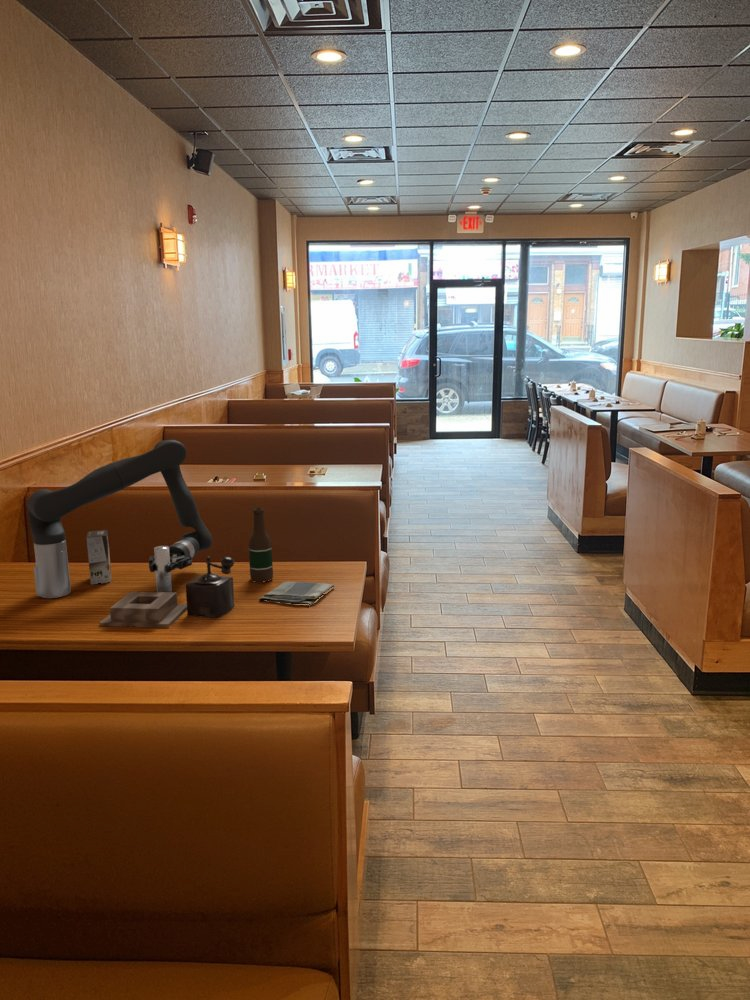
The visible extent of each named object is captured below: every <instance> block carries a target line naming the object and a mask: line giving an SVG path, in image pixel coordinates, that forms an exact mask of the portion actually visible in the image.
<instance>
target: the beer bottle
mask: <svg viewBox="0 0 750 1000" xmlns="http://www.w3.org/2000/svg"><path fill="white" fill-rule="evenodd" d="M252 513H253V531H252V533H251V535H250V537H249V540H248V556H249V557H248V558H249V561H248V562H249V574H250V575H249V576H250V581H251V582H252V581H256V582H263V581H268V580H270V579H272V578H273V579H274V569H273V567H274V566H273V565H274V564H273V548H272V542H271V539H270V536H269V534H267V530H266V527H265V526H266V525H265V524H266V523H265V517H264V513H265V510H264V508H262V507H255V508H253V509H252ZM256 582H255V583H256Z"/></svg>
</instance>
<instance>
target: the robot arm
mask: <svg viewBox="0 0 750 1000" xmlns="http://www.w3.org/2000/svg"><path fill="white" fill-rule="evenodd" d="M187 453H188V452H187V448H186V446H185V445H184V444H183V443H182V442H180V441H178V440H175V439H166V440H165V439H164V440H159V441H158V442H157V443H156V444H155V445H154V447H153V448H152V449H151V450H149V451H146V452H144V453H142V454H138V455H136V456H131V457H126V458H123V459H119V460H116V461H113V462H110V463H107V464H105V465H102V466H100V467H98V468H96V469H94V470H92V471H91V472H89V473H88V474H86V475H85V476H84V477H82V478H81V479H80V480H78V481H77V482H74V483H73V484H71V485H69V486H66V487H63V488H60V489H55V490H50V489H46V488H41V489H37V490H35V491H34V492H32V493H31V494H30V496H29V498H28V501H27V513H28V521H29V527H30V528H29V529H30V533H31V535H32V538H33V539H32V540H33V548H34V549H33V550H34V556H35V557H34V559H35V566H33V575H34V584H35V593H36V597H40V598H43V599H57V598H61V597H65V596H68V595H69V594H71V592H72V589H71V587H72V585H71V578H70V567H69V560H68V559H69V558H68V551H67V549H68V548H67V541H66V539H67V538H66V531H65V529H64V527H63V523H62V518H63V517H64V516H66V515H68V514H70V513H71V512H73V511H75V510H77V509H78V508H80V507H82V506H85V505H86V504H91V503H93V502H96V501H98V500H100V499H103V498H105V497H108V496H111V495H113V494H115V493H117V492H120V491H122V490H125V489H126V488H129V487H131V486H133V485H135V484H137V483H138V482H141V481H143V480H144V479H146V478H148V477H150V476H152V475H154V474H157V473H161V475H162V478H163V480H164V482H165V484H166V486H167V489H168V491H169V493H170V496H171V497H170V498H171V500H172V503H173V506H174V508H175V509H174V510H175V512H176V515H177V518H178V523H179V525H180V526H181V527H185V528H187V527H188V528H193V529H194V531H190V532H186V533H183V534H182V535H181V536H180V539H179V541H176V542H174V543H173V544H171V545H170V546H169V553H170V563H169V564H168V565H167V566H166V572H167V573H169V572H170V571H171V572H172V571H176V570H177V569H178V570H183V569H185V568H187V567H190V566H192V565H193V558H194V557H195V556H196V555H197V554H198V553H199V552H200V551H201V552H202V551H206V550H209V549H210V548H211V547H212V545H213V536H212V534H211V532H210V531H209V528H207V526H206V525H205V522H204V521H203V519H202V517H201V516H200V513H199V510H198V507H197V504H196V500H195V498H194V495H193V493H192V492H191V490H190V489H189V487H188V485H187V482H186V481H185V478H184V476H183V474H182V471H181V465H182V464H183V463H184V462H185V460H186V459H187ZM148 568H149V571H150V573H154V572H156V569H155V555H150V556H149V558H148Z"/></svg>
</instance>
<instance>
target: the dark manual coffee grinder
mask: <svg viewBox="0 0 750 1000" xmlns="http://www.w3.org/2000/svg"><path fill="white" fill-rule="evenodd" d="M205 559H206V561H205V564H206V568H207V570H206V571H207V573H204V574H202V575H200V576H197V577H195V578H193V579H192V580H191V581H188V582H187V583H185V596H186V597H185V598H186V604H187V610H186V611H187V615H186V616H192V617H198V618H199V617H200V618H220V617H223V616H224V615H226V614H227V613H229V612H230V611H232V609H234V608H235V593H234V589H235V588H234V577H232V576H224V575H229V574H231V573H232V570H231V568H232V567H233V566H234V565H235V560H234V558H232V557H231V556H224V557H223V558H221V559H220V564H218V563H217V564H216V563H214V562H212V561H211V559H212V558H211V557H210V556H209V555H208V556H206V557H205ZM211 566H212V567H213V568H217V569H221V571H220V572H221V573H222V574H224V575H223V576H222V575H219V574H216V573H213V572H212V571H211ZM233 607H234V608H233ZM228 611H229V612H228Z"/></svg>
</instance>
